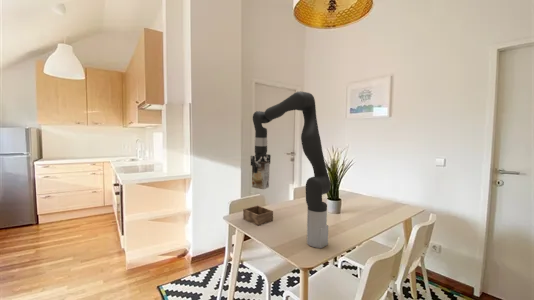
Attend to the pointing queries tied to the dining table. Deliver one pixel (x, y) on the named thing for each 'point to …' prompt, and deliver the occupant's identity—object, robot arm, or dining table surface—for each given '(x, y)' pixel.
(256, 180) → the coffee box
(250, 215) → the walnut caddy
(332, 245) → the dining table surface
